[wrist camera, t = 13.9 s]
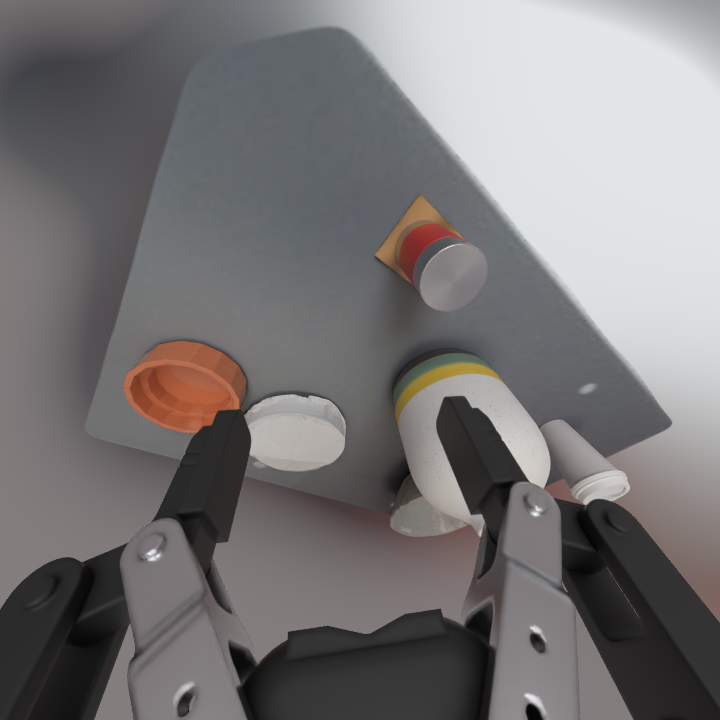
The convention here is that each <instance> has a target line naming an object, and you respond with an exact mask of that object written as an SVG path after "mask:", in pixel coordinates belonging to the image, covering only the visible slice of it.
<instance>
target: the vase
mask: <svg viewBox="0 0 720 720" xmlns="http://www.w3.org/2000/svg"><path fill="white" fill-rule="evenodd" d="M447 396H465V397H466V398H467V400H468V402H469V403H470V405H471V407H472V408H479V409H480V410H481V411H482V412H483V413H484V414H486V415H487V416H488V417H489V419H490V420H491V422H492V423H493V425H494V426H495V428H496V431H498V433H499V434H500V436H501V438H502V441H504V442H505V444H506V445H507V447H508V449H509V450H510V452H511V453H512V455H513V457H514V458H515V460H516V461H517V463H518V464H519V466H520V468H521V469H522V471H523V472H524V474H525V476H526V477H527V478H528V480H529V481H530V482H531V483H533V484H536V485H538V486H540V487H541V488H544V486H545V484H546V482H547V479H548V476H549V472H550V455H549V450H548V447H547V444H546V441H545V439H544V437H543V435H542V433H541V431H540V429H539V428H538V426H537V425H536V423H535V422H534V421H533V419H532V418H531V417H530V415H529V414H528V413H527V411H526V410H525V409H524V408H523V406H522V405H521V404H520V403H519V401H518V400H517V399H516V398H515V396H514V395H513V394H512V392H511V391H510V390H509V389H508V387H507V386H506V385H505V384H504V382H503V381H502V380H501V379H500V378H499V376H498V375H497V374H496V373H495V371H494V370H493V369H492V368H491V367H490V366H489V365H488V364H487V363H486V362H485V361H484V360H483V359H481V358H480V357H478V356H476V355H475V354H473V353H470V352H468V351H465V350H461V349H455V348H443V349H437V350H433V351H430V352H427V353H425V354H422V355H421V356H419V357H417V358H415V359H414V360H413V361H411V362H410V363H409V364H408V365H407V366H406V367H405V368H404V369H403V370H402V372H401V373H400V375H399V376H398V378H397V380H396V383H395V386H394V391H393V407H394V412H395V416H396V420H397V424H398V428H399V432H400V436H401V440H402V443H403V447H404V451H405V455H406V459H407V462H408V466H409V469H410V472H411V475H412V478H413V480H414V482H415V484H416V486H417V488H418V489H419V491H420V492H421V494H422V495H423V496H424V497H425V499H426V500H427V501H428V502H429V503H430V504H431V505H432V506H434V507H435V508H437V509H438V510H440V511H442V512H443V513H445V514H447V515H449V516H452V517H454V518H457V519H459V520H462V521H464V522H467V523H469V524H471V525H472V526H473V527H474V529H475V530H476V532H477V534H478V535H479V536H480V537H481V534H482V529H483V525H484V523H485V521H484V519H483V517H482V514H478V515H470V512H469V510H468V507H467V505H466V503H465V500H464V498H463V495H462V493H461V490H460V488H459V485H458V483H457V481H456V478H455V476H454V473H453V471H452V468H451V466H450V464H449V461H448V459H447V456H446V454H445V451H444V449H443V446H442V444H441V442H440V439H439V437H438V434H437V430H436V420H437V416H438V413H439V410H440V407H441V404H442V401H443V398H444V397H447Z"/></svg>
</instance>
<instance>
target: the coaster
mask: <svg viewBox="0 0 720 720" xmlns="http://www.w3.org/2000/svg"><path fill="white" fill-rule="evenodd" d="M419 220H429V221H432V222H434V223H436V224H438V225H440V226H442V227H444V228H445V229H447V230H449V231H451V232H452V233H454V234H456V235H457V236H459V237H461V238H463V237H462V236H461V235H460V234H459V233H458V232H457V231H456V230H455V229H454V228H453V227H452V226H451V225H450V224H449V223H448V222H447V221H446V220H445V219H444V218H443V217H442V216H441V215H440V214H439V213H438V212H437V211H436V210H435V209H434V208H433V207H432V206H431V205H430V204H429V203H428V202H427V201H426V200H425V199H424V198H423V197H422V196H421V195H420V194H419V195H418V197H417V198H416V199H415V201H414V202H413V203H412V205H411V206H410V207H409V209H408V210H407V212H406V213H405V214H404V216H403V217H402V218H401V220H400V221H399V222H398V224H397V225H396V226H395V228H394V229H393V230H392V232H391V233H390V234H389V236H388V237H387V239H386V240H385V241H384V243H383V244H382V245H381V247H380V248H379V249H378V251H377V252H376V253H375V256H376V257H377V258H379V259H380V260H381V261H382V262H384V263H385V264H386V265H388V266H389V267H390V268H391V269H393V270H394V271H395V272H396V273H398V274H399V275H400V276H402V277H403V278H404V279H405V280H407V281H408V282H409V283H410V284H411V282H410V281H409V279H408V278H407V276H406V275H405V273H404V272H403V270H402V268H401V266H400V265H399V263H398V262H397V259H396V255H395V247H396V242H397V239H398V237H399V235H400V234H401V232H402V231H403V230H404V229H405V228H406V227H407V226H408V225H410V224H411V223H413V222H416V221H419ZM463 239H464V238H463ZM464 240H465V239H464Z"/></svg>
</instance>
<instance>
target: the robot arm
mask: <svg viewBox="0 0 720 720" xmlns="http://www.w3.org/2000/svg"><path fill="white" fill-rule="evenodd" d="M436 430H437V434H438V437H439V439H440V442H441V444H442V446H443V449H444V451H445V454H446V456H447V459H448V461H449V464H450V466H451V468H452V471H453V473H454V476H455V478H456V481H457V483H458V485H459V488H460V490H461V493H462V495H463V498H464V500H465V503H466V505H467V507H468V510H469V512H470V515H478V514H482V517H483V519H484V521H485V523H484V525H483V529H482V534H481V539H480V544H479V549H478V554H477V559H476V564H475V569H474V574H473V578H472V582H471V585H470V587H469V589H468V592H467V594H466V597H465V601H464V604H463V608H462V613H461V618H460V623H458V622H456V621H453V620H451V619H448V618H445V617H443V615H442V612H441V609H436V610H429V611H423V612H416V613H409V614H404V615H403V616H401V617H399V618H397V619H395V620H394V621H392V622H390V623H388V624H387V625H385V626H383V627H381V628H380V629H378V630H376V631H374V632H372V633H370V634H362V633H357V632H353V631H348V630H343V629H339V628H335V627H330V626H323V627H317V628H310V629H304V630H297V631H291V632H288V640H286V641H285V642H283V643H281V644H280V645H279V646H277V647H276V648H274V649H273V650H272V651H271V652H270V653H268V654H267V655H266V656H265V657H264V658H263V659H262V660H261V661H260V660H259V658H258V655H257V653H256V651H255V648H254V646H253V644H252V642H251V639H250V637H249V635H248V633H247V631H246V629H245V627H244V626H243V624H242V622H241V621H240V619H239V618H238V616H237V614H236V612H235V610H234V608H233V605H232V603H231V600H230V598H229V596H228V593H227V591H226V589H225V586H224V584H223V582H222V579H221V577H220V575H219V572H218V570H217V568H216V565H215V563H214V560H213V558H212V557H213V553H214V549H215V546H216V543H222V542H228V539H229V535H230V531H231V526H232V523H233V519H234V514H235V510H236V506H237V502H238V497H239V494H240V490H241V486H242V482H243V478H244V474H245V470H246V466H247V461H248V457H249V453H250V449H251V433H250V431H249V428H248V425H247V422H246V420H245V417H244V414H243V412H242V410H241V409H233V410H219V411H218V412H217V413H216V415H215V418H214V420H213V423H212V425H209V426H203V427H202V428H201V429H200V430H199V431H198V432H197V433H196V434H195V435H194V436H193V438H192V439H191V441H190V443H189V445H188V448H187V450H186V452H185V453H186V454H185V455H184V456H183V458H182V461H181V463H180V467H179V468H178V469H177V472H176V474H175V476H174V478H173V480H172V482H171V485H170V487H169V489H168V491H167V493H166V495H165V498H164V500H163V502H162V504H161V506H160V508H159V511H158V513H157V514H156V516H155V518H154V519H153V521H152V522H151V523H150V524H148V525H146V526H145V527H143V528H142V529H141V530H140V531H139V532H137V533H136V534H135V535H134V536H133V537H132V539H131V540H130V541H129V542H128V543H126V544H124V545H122V546H120V547H118V548H115V549H113V550H110V551H108V552H106V553H103V554H101V555H99V556H96V557H94V558H92V559H89V560H87V561H85V562H80V561H78V560H76V559H74V558H69V557H66V558H60V559H56V560H54V561H51V562H49V563H47V564H45V565H43V566H42V567H41V568H39V569H37V570H36V571H34V572H33V573H32V574H30V575H29V576H28V577H27V578H26V579H24V580H23V581H22V582H21V583H20V584H19V585H18V586H17V587H16V589H15V590H14V591H13V592H12V593H11V595H10V596H9V598H8V599H7V600H6V602H5V603H4V605H3V606H2V608H1V610H0V720H94V718H95V716H96V713H97V710H98V708H99V705H100V702H101V699H102V696H103V694H104V691H105V689H106V686H107V683H108V680H109V678H110V675H111V672H112V669H113V667H114V664H115V661H116V658H117V656H118V653H119V650H120V648H121V645H122V642H123V640H124V637H125V634H126V631H127V628H128V626H129V624H131V627H132V632H133V637H134V642H135V654H134V657H133V658H132V659H131V661H130V663H129V666H128V675H127V676H128V677H127V679H128V688H129V694H130V700H131V705H132V712H133V718H134V720H580V706H579V681H578V658H577V636H576V635H577V634H576V615H575V607H576V609H577V610H578V612H579V614H580V616H581V618H582V620H583V622H584V624H585V626H586V628H587V630H588V631H589V634H590V636H591V638H592V640H593V642H594V643H595V645H596V647H597V649H598V651H599V653H600V655H601V657H602V659H603V661H604V663H605V665H606V667H607V669H608V671H609V673H610V674H611V677H612V678H613V680H614V682H615V684H616V686H617V688H618V690H619V692H620V694H621V696H622V698H623V700H624V702H625V704H626V706H627V708H628V710H629V711H630V714H631V715H632V717H633V719H634V720H720V623H719V621H718V620H717V619H716V618H715V616H714V615H713V614H712V613H711V612H710V610H709V609H708V608H707V606H706V605H705V604H704V603H703V601H701V599H700V598H699V597H698V595H697V594H696V593H695V592H694V590H693V589H692V588H691V587H690V585H689V584H688V583H687V582H686V580H685V579H684V578H683V577H682V575H681V574H680V573H679V572H678V571H677V569H676V568H675V567H674V565H673V564H672V563H671V562H670V560H669V559H668V558H667V557H666V556H665V554H664V553H663V552H662V551H661V549H660V548H659V547H658V546H657V544H656V543H655V542H654V541H653V539H652V538H651V537H650V536H649V534H648V533H647V532H646V531H645V530H644V528H643V527H642V526H641V524H640V523H639V522H638V521H637V520H636V519H635V517H634V516H632V515H631V514H630V513H629V512H628V511H627V510H625V509H624V508H623V507H621V506H619V505H618V504H616V503H613V502H611V501H609V500H605V499H594V500H592V501H591V502H589V503H588V504H587V505H586V506H585V505H581V504H577V503H572V502H568V501H564V500H560V499H556V498H553V497H552V496H551V495H550V494H549V493H548V492H547V491H545V490H544V489H543V488H541V487H540V486H538V485H536V484H533V483H531V482H530V481H529V480H528V478H527V477H526V476H525V474H524V472H523V471H522V469H521V468H520V466H519V464H518V463H517V461H516V460H515V458H514V457H513V455H512V453H511V452H510V450H509V449H508V447H507V445H506V444H505V442H504V441H502V438H501V436H500V434H499V433H498V431H496V428H495V426H494V425H493V423H492V422H491V420H490V419H489V417H488V416H487V415H486V414H484V413H483V412H482V411H481V410H480V409H479V408H472V407H471V405H470V403H469V402H468V400H467V398H466V397H465V396H447V397H444V398H443V401H442V404H441V407H440V410H439V413H438V416H437V420H436ZM607 568H608V569H609V570H608V569H607ZM609 571H610V572H611V574H612V575H613V577H614V578H615V580H616V581H615V580H614V579H613V577H612V575H611V574H610V572H609ZM562 581H563V583H564V585H565V587H566V589H567V591H568V593H567V592H566V591H565V590H564V588H563V585H562ZM616 582H617V583H618V585H619V586H620V588H621V589H622V591H623V592H622V591H621V589H620V588H619V586H618V585H617V583H616ZM623 593H624V594H625V595H626V597H627V599H628V600H629V602H630V603H631V605H632V606H631V605H630V603H629V602H628V600H627V599H626V597H625V596H624V594H623ZM574 605H575V606H574ZM632 607H633V608H634V609H635V611H636V613H637V614H638V616H639V617H638V616H637V614H636V613H635V611H634V610H633V608H632ZM639 618H640V619H639ZM640 620H641V621H640ZM189 707H193V708H192V709H191V711H190V712H189Z"/></svg>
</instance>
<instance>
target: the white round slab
mask: <svg viewBox="0 0 720 720" xmlns="http://www.w3.org/2000/svg"><path fill="white" fill-rule="evenodd" d="M244 417H245V420H246V422H247V425H248V428H249V431H250V433H251V449H250V453H249V454H250V455H251V456H254V457H255V458H257V460H260V461H261V462H262V463H264V464H266V465H267V466H270V467H273V468H276V469H280V470H286V471H297V472H299V471H304V470H305V471H307V470H308V471H309V469H310V470H311V469H314V470H315V468H317V469H318V467H320V468H321V466H325V465H326V466H327V464H329V465H330V463H331V462H334V461H336V459H337V458H338V457H339V456H340V454H342V452H343V450H344V447H345V439H344V438H345V435H346V424H345V420H344V417H343V416H342V414H341V413H340V411H339V410H338V408H337V407H336V406H335V405H334V404H333V403H332V402H331V401H330V400H326V399H324V398H323V399H321V398H319V397H314V396H309V397H308V398H306V397H301V396H297V395H295V394H294V395H280V396H275V397H271V398H267V399H266V400H262V402H261V403H258V404H256V405H254V406H253V407H252V408H251V410H248V412H247V413H246V414H245V415H244ZM320 468H319V469H320ZM317 469H316V470H317Z"/></svg>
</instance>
